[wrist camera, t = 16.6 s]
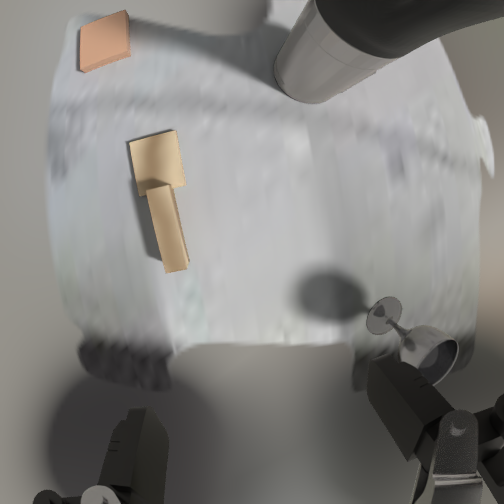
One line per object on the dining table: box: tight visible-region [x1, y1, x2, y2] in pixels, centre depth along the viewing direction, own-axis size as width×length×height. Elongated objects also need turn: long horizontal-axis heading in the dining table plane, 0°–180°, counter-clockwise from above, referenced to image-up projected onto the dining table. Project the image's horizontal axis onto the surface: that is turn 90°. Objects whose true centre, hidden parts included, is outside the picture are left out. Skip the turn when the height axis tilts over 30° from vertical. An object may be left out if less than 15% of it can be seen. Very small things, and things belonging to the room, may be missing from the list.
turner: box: [129, 130, 190, 273], centre depth 32 cm, size 6×16×4 cm, turn 10°
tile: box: [80, 10, 131, 73], centre depth 26 cm, size 7×2×8 cm
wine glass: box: [367, 297, 459, 386], centre depth 35 cm, size 8×8×15 cm
